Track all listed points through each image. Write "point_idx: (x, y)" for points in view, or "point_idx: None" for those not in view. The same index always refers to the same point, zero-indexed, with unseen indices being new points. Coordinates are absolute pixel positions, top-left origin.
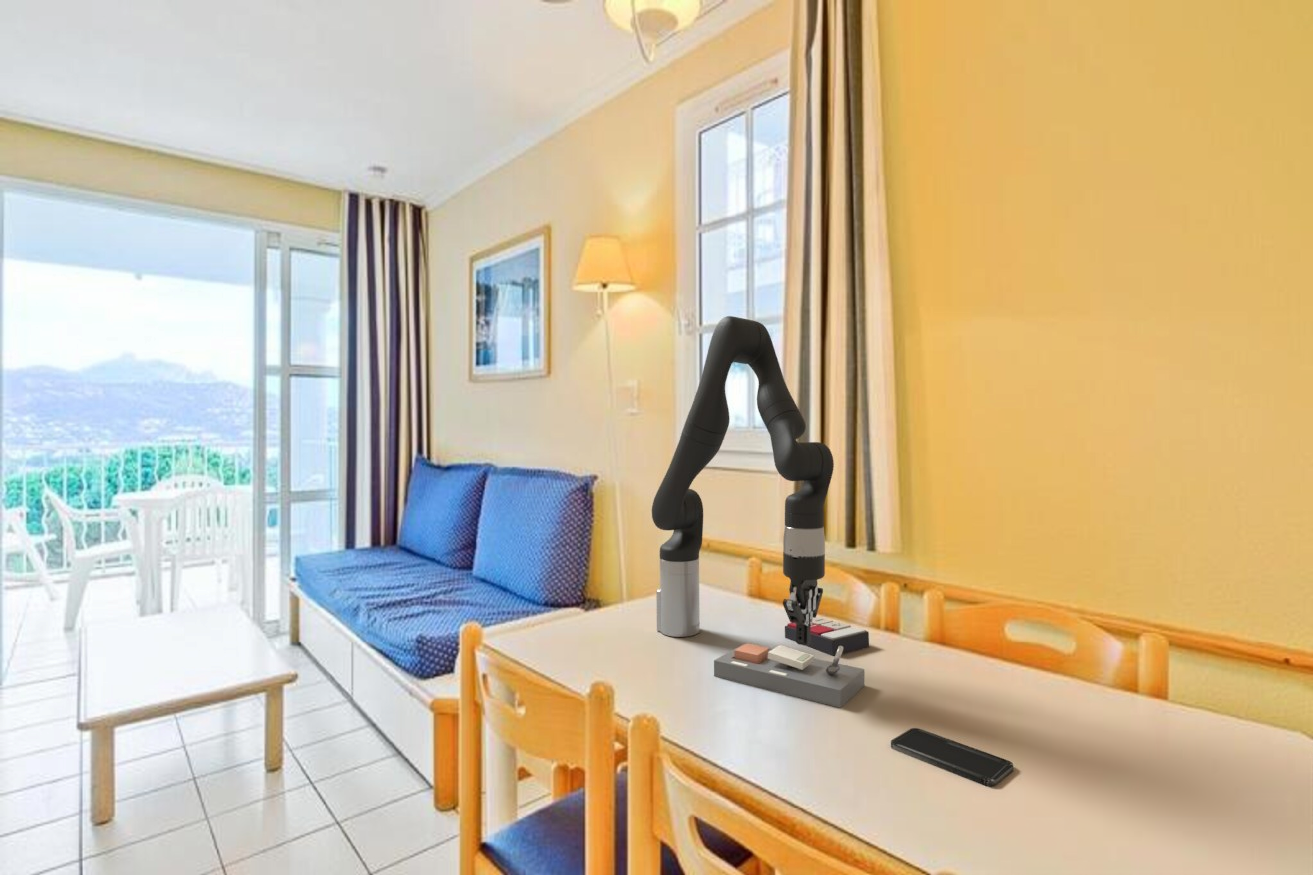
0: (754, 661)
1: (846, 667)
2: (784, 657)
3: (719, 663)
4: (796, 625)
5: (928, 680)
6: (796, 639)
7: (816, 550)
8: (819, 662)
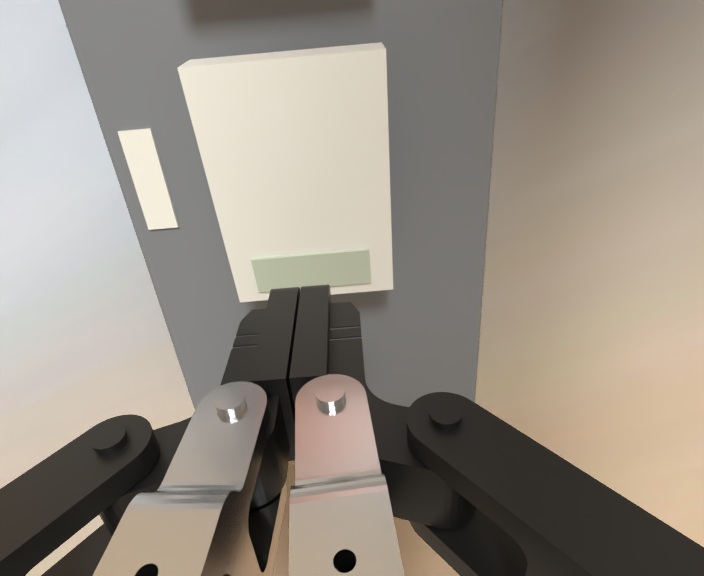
0: None
1: (449, 373)
2: (213, 197)
3: None
4: (251, 372)
5: (607, 480)
6: (270, 299)
7: None
8: (441, 265)
